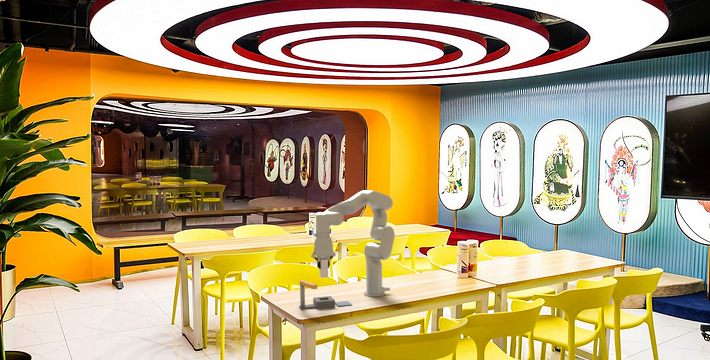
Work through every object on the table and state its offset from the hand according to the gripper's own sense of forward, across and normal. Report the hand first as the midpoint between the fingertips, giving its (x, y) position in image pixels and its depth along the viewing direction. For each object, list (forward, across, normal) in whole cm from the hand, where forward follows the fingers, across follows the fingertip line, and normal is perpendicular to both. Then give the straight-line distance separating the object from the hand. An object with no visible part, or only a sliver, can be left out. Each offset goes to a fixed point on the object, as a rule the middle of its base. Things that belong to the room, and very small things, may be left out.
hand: (323, 268), depth 279 cm
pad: (+21, +11, 0) cm, 24 cm away
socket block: (+21, -4, 0) cm, 22 cm away
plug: (+5, 0, 0) cm, 5 cm away
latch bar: (+8, -10, -6) cm, 14 cm away
